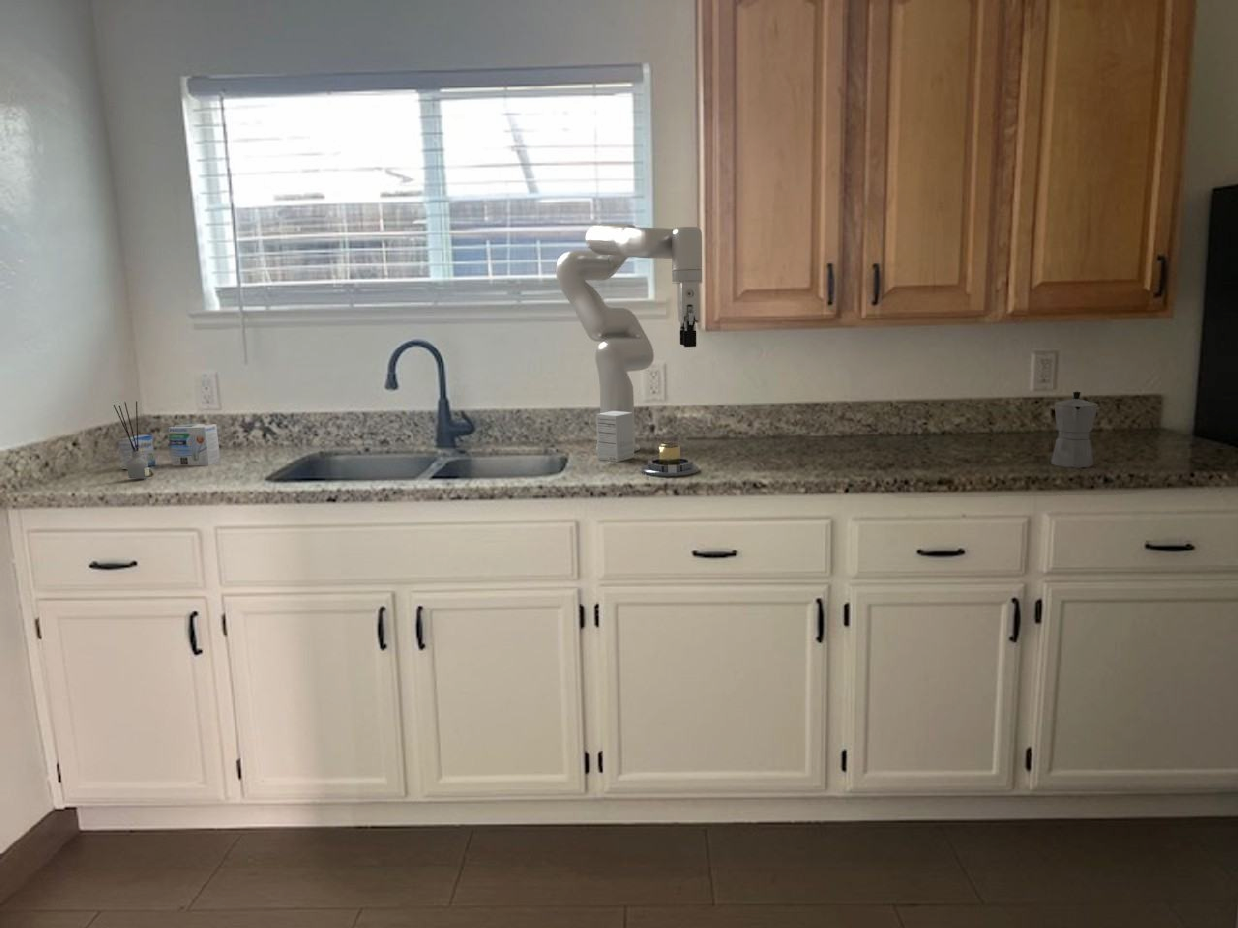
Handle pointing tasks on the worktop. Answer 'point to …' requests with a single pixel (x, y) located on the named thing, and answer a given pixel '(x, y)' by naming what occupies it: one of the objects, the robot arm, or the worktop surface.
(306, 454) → the worktop surface
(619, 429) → the supplement box
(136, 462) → the reed diffuser
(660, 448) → the brass lock cylinder
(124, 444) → the medicine box
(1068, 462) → the coffeepot
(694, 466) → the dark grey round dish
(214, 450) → the light bulb box
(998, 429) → the worktop surface
